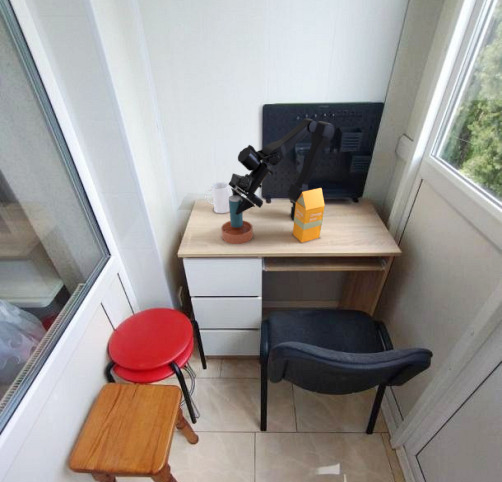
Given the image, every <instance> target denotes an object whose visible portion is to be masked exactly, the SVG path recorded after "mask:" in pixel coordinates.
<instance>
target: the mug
mask: <svg viewBox="0 0 502 482" xmlns="http://www.w3.org/2000/svg"><path fill="white" fill-rule="evenodd" d="M228 184H229V183H227V182H224V181H223V182H222V181H219V182H215V183H212V184H211V187H210V188H208V189H207V190H206V192H205V194H204V196H205V201H206V202H207V203H209V205H212V206H213V212H214V213H216V214H226V213H230V210H229V197H230V185H228ZM209 192H211V195H212V201H210V200H209V199H208V197H207V195H208V193H209Z"/></svg>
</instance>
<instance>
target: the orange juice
mask: <svg viewBox="0 0 502 482" xmlns="http://www.w3.org/2000/svg"><path fill="white" fill-rule="evenodd" d="M325 207H326V204H325V199H324V195H323V189H322V187H319V188H313V189H308V191H304V192H302V194H301V195H300V197H299V198H298V200H297V201H296V205H295V216H294V220H293V225H292V226H293V229H292V235H293V236H294V237H295V238H296V239H297V240H298V241H299V242H300V243H305V242H309V241H313V240H317V239H319V238H320V235H321V229H322V225H323V217H324V212H325Z"/></svg>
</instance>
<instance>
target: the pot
mask: <svg viewBox="0 0 502 482" xmlns="http://www.w3.org/2000/svg"><path fill="white" fill-rule="evenodd" d="M220 231H221V238H222V240H223V241H224V242H226V243H228V244H231V245H233V244H234V245H240V244H241V245H242V244H246V243H247V242H249V241H251V240H252V238H253V237H254V232H253V231H254V227H253V224H252V223H251V222H249V221H247V220H244V219H243V226H241V227H238V228H235V227H232V226H231V222H230V220H229V221H226V222H225V223H223V224H222V225H221V227H220Z"/></svg>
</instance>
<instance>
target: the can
mask: <svg viewBox="0 0 502 482" xmlns="http://www.w3.org/2000/svg"><path fill="white" fill-rule="evenodd" d="M241 196H242V195H241ZM241 196H239V195H233V194H232V195H229V210H230V211H229V221H230V222H231V226H232V227H235V228H238V227H241V226H243V220H244V215H243V213H244V212H242V213H240V214H238V215H236V214H235V213H236V211H237V209H238V207H239V206H240V204H241V202H242V197H241Z"/></svg>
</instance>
